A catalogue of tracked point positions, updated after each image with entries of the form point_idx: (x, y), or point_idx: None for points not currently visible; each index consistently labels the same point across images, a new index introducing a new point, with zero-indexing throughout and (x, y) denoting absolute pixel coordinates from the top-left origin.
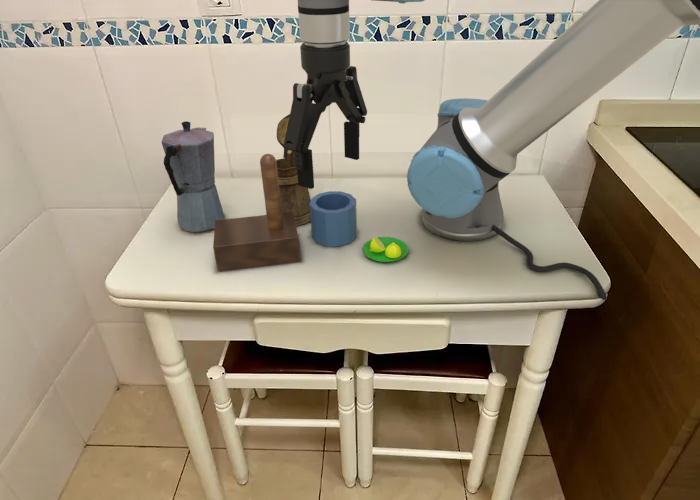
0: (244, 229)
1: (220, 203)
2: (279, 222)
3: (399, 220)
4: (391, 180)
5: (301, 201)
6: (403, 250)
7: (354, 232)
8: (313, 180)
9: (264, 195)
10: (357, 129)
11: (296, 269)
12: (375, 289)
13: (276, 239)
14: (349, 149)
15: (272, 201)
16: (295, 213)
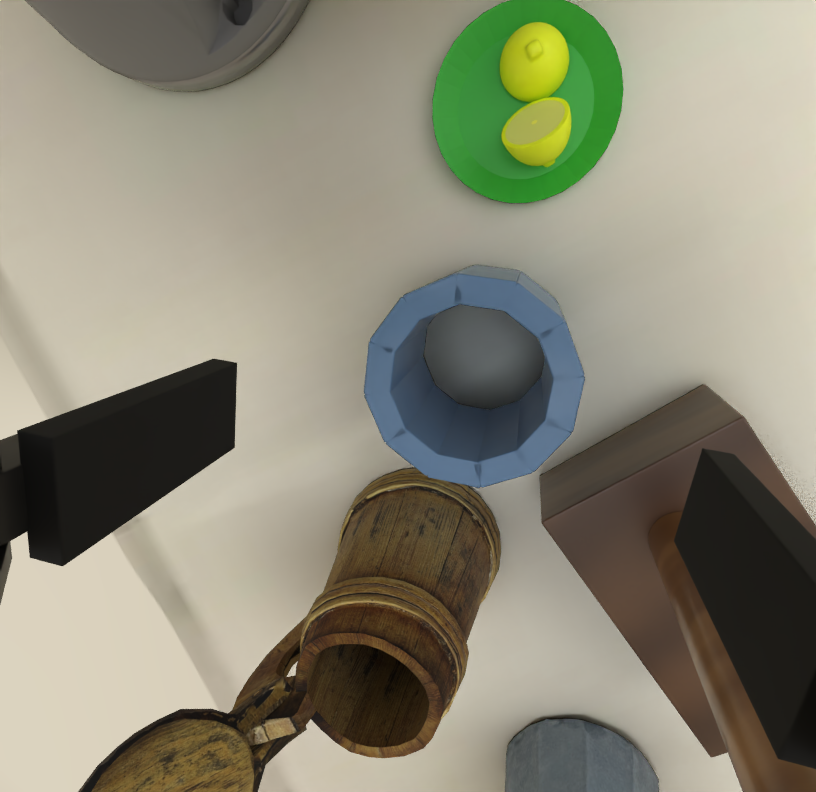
0: None
1: (539, 780)
2: None
3: (286, 163)
4: (48, 321)
5: (433, 530)
6: (492, 35)
7: (481, 267)
8: (721, 468)
9: None
10: (76, 422)
11: (757, 375)
12: (808, 12)
13: (791, 492)
14: (203, 432)
15: None
16: (469, 524)
